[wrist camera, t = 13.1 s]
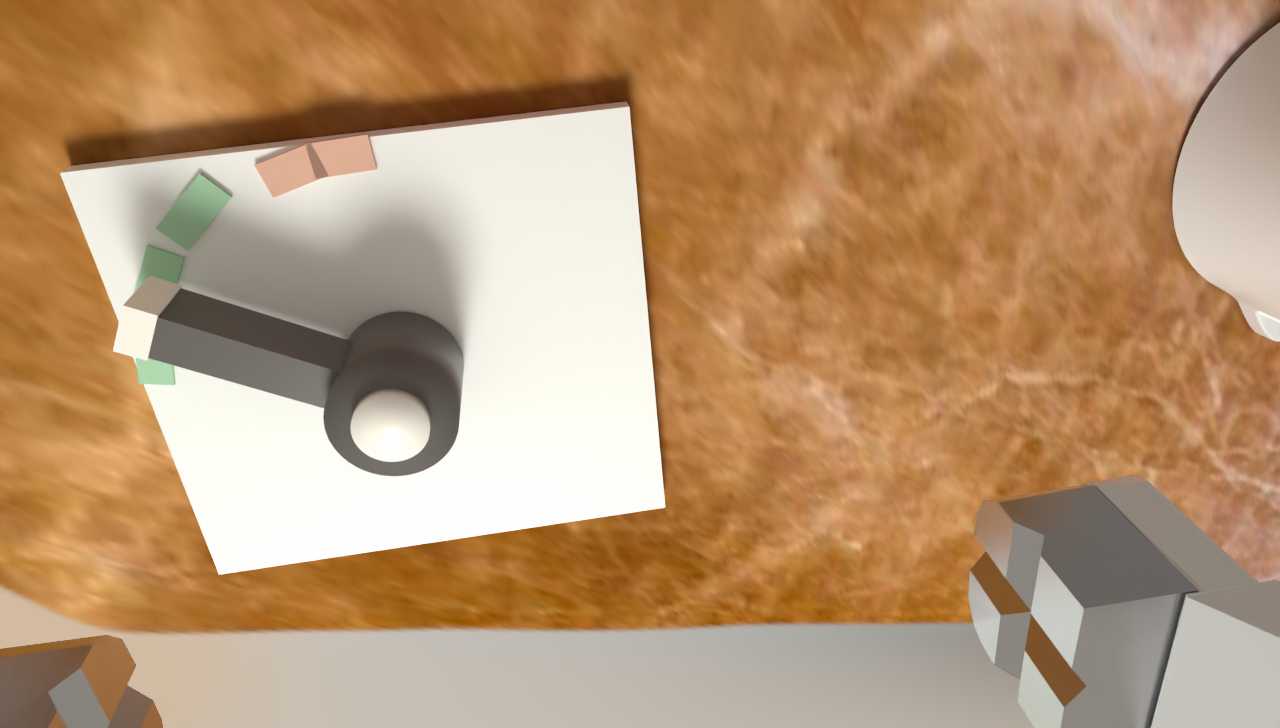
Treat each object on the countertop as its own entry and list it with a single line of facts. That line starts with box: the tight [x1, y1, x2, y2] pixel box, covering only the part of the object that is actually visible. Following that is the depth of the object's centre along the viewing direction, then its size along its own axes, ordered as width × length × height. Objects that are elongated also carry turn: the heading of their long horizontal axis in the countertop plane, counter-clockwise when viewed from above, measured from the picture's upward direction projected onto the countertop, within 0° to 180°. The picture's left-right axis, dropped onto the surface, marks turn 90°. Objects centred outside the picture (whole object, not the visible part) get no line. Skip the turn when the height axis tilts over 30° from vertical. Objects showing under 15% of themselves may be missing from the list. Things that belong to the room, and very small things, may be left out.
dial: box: [113, 276, 464, 476], centre depth 37 cm, size 13×5×5 cm, turn 66°
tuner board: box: [60, 101, 665, 575], centre depth 41 cm, size 22×20×1 cm
